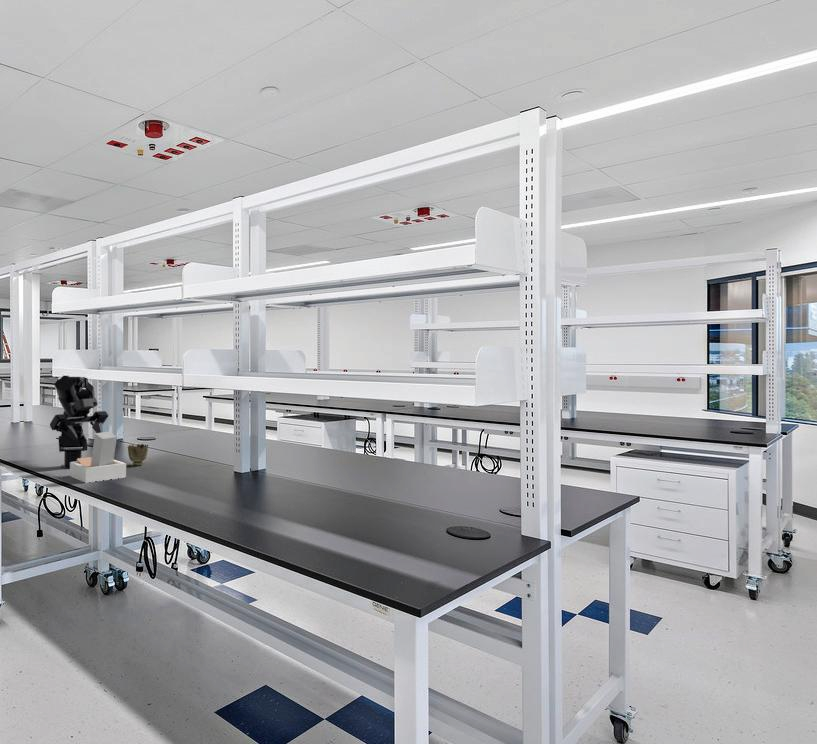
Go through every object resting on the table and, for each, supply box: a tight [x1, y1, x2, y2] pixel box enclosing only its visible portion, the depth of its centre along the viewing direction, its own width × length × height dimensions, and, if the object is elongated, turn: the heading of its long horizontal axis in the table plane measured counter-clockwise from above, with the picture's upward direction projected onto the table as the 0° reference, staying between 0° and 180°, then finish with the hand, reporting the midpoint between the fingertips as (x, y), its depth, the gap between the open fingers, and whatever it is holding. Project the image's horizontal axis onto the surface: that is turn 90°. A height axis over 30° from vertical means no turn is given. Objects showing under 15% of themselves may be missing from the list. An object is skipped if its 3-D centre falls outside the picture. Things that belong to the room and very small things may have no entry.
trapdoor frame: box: [69, 459, 127, 484], centre depth 204 cm, size 15×13×5 cm
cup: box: [127, 443, 149, 467], centre depth 226 cm, size 8×7×8 cm
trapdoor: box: [77, 456, 114, 467], centre depth 204 cm, size 12×10×4 cm
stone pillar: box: [91, 431, 118, 467], centre depth 200 cm, size 5×5×12 cm
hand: (89, 437), depth 205 cm, fingers open, 9 cm apart
